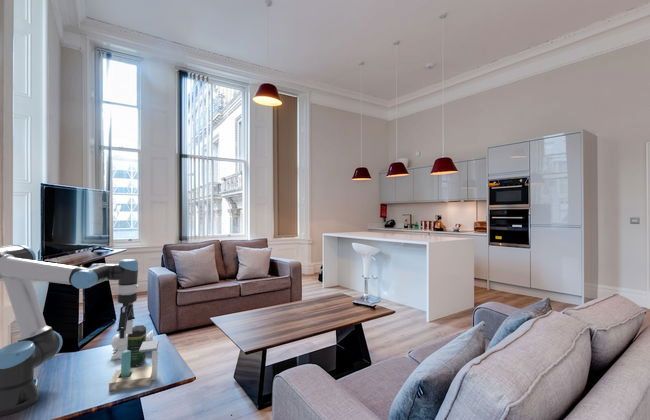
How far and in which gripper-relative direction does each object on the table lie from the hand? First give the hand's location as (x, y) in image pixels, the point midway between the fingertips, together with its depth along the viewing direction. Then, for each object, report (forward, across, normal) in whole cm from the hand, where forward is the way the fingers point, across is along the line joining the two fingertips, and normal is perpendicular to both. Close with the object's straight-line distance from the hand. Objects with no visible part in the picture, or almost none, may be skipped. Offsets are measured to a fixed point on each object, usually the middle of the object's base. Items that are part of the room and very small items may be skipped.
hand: (125, 339), depth 147 cm
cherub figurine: (+20, +33, +3) cm, 39 cm away
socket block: (+20, 0, -4) cm, 20 cm away
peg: (+20, 0, -1) cm, 20 cm away
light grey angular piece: (+20, 0, -11) cm, 22 cm away
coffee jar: (+20, +20, -2) cm, 28 cm away
